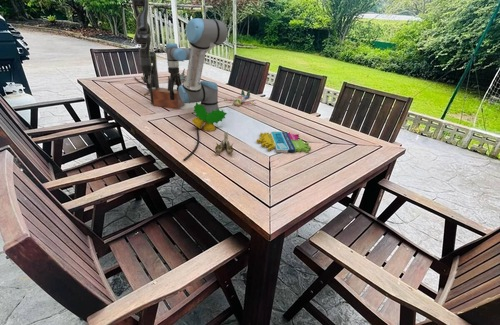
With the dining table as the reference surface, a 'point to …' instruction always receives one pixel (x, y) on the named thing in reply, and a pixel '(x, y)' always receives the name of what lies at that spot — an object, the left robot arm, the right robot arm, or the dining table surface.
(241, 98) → the toy
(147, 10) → the left robot arm
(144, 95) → the drawer
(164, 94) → the cabinet
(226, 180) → the dining table surface
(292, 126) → the dining table surface
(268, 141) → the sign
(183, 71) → the airplane
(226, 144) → the jawbone
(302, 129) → the dining table surface
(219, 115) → the ornament
